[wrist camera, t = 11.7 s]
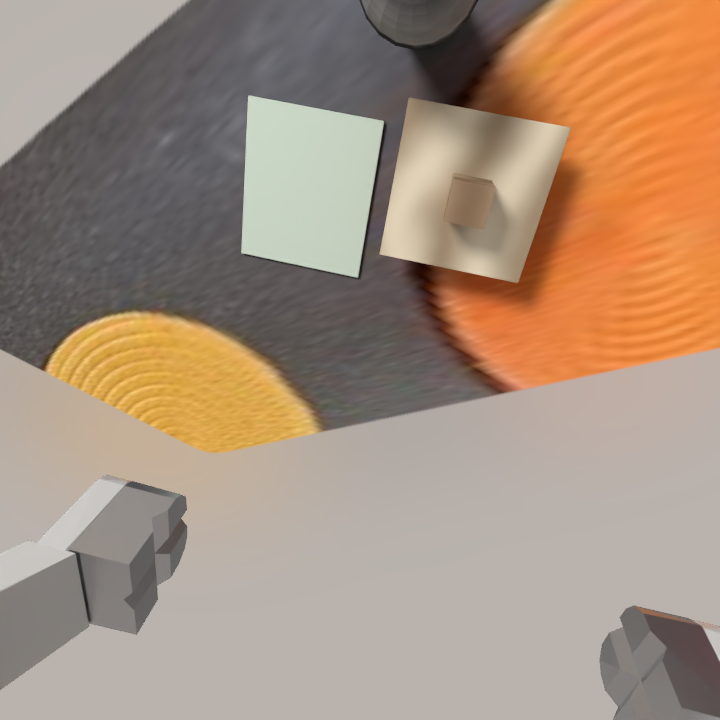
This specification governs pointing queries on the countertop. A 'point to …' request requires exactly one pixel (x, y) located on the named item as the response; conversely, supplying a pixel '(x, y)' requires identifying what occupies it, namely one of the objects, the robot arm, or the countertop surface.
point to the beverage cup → (417, 20)
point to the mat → (308, 184)
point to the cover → (470, 188)
